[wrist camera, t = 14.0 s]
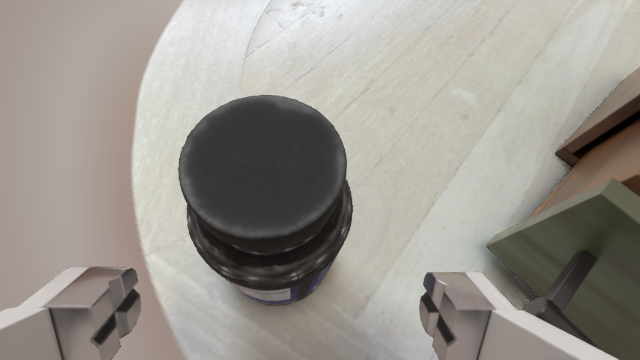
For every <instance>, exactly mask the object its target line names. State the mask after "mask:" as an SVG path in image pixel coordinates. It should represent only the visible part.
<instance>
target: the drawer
mask: <svg viewBox="0 0 640 360" xmlns="http://www.w3.org/2000/svg"><path fill="white" fill-rule="evenodd" d="M486 247H487V248H488V249H489V250H490V251H491V252H492V253H493V254H494V255H495V256H497V257H498V258H499V259H500V260H501V261H502V262H503V263H504V264H505V265H506V266H507V267H508V268H509V269H510V270H511V271H512V272H513V273H514V274H516V275H517V276H518V277H519V278H520V279H521V280H522V281H523V282H524V283H525V284H526V285H527V286H528V287H529V288H530V289H531V290H532V291H533V292H534V293H536V294H537V295H538V296H539V297H540V298H537V299H534V300H532V301H530V302H529V303H528V304H526V305H525V306H524V307H523V308H522V309H521V310H524V311H525V312H527V313H529V314H531V315H533V316H535V317H537V318H539V319H541V320H543V321H545V322H547V323H549V324H551V325H553V326H555V327H557V328H559V329H561V330H562V331H564V332H566V333H568V334H570V335H572V336H574V337H576V338H578V339H580V340H582V341H584V342H586V343H588V344H590V345H592V346H594V347H596V348H598V349H599V350H601V351H603V352H605V353H607V354H609V355H611V356H613V357H615V358H617V359H619V360H640V117H639V118H638V119H636V120H634V121H633V122H631V123H630V124H628V125H626V126H625V127H623V128H622V129H620V130H618V131H617V132H615V133H614V134H612V135H610V136H609V137H607V138H606V139H604V140H602V141H601V142H599V143H597V144H596V145H594V146H593V147H591V148H590V149H589V150H588V151H587V152H586V153H585V154H584V155H583V157H582V158H581V159H580V160H579V161H578V162H577V164H576V165H575V166H574V167H573V168H572V169H571V170H570V172H569V173H568V174H567V175H566V176H565V177H564V179H563V180H562V181H561V182H560V183H559V184H558V185H557V187H556V188H555V189H554V190H553V191H552V192H551V193H550V195H549V196H548V197H547V198H546V199H545V200H544V202H543V203H542V204H541V205H540V206H539V207H538V208H537V210H536V211H535V212H534V213H533V214H532V215H531V216H530V218H529V219H527V220H525V221H523V222H521V223H519V224H517V225H515V226H513V227H511V228H509V229H507V230H505V231H503V232H501V233H499V234H497V235H495V237H494V238H493V239H492V240H491V241H490V242H489V243H488V244H487V245H486Z"/></svg>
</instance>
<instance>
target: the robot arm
mask: <svg viewBox="0 0 640 360" xmlns="http://www.w3.org/2000/svg"><path fill="white" fill-rule="evenodd" d="M137 282H138V279H137V274H136V271H135V270H134V269H133V268H122V267H91V266H74V267H69V268H67V269H66V270H65V271H64V272H62V273H61V274H59V275H58V276H57V277H56V278H54V279H53V280H52V281H50V282H49V283H48V284H47V285H45V286H44V287H43V288H41V289H40V290H39V291H38V292H36V293H35V294H34V295H32V296H31V297H30V298H29V299H27V300H26V301H25V302H23V303H22V304H21V305H20V306H18V307H17V308H8V309H5V310H3V311H0V360H112V359H113V357H114V356H115V354H116V353H117V351H118V350H119V349H120V347H121V346H120V339H121V338H122V337H124V336H126V335H127V334H129V333H130V332H131V331H132V329H133V328H134V327H135V325H136V324H137V321H138V318H139V315H140V312H141V298H140V295H139V294H138V293H137V292H136V291H135V290H134V289H133V288H134V286H135V285H136V284H137ZM423 285H424V287H425V289H426V290H427V292H426V293H425V294H424V295H423V296H422V297H421V299H420V306H419V311H420V319H421V322H422V325H423V328H424V330H425V332H426V333H427V334H429V335H430V336H431V337H433V338H434V340H433V345H432V346H433V348H434V350H435V352H436V354H437V356H438V358H439V360H619V359H617V358H615V357H613V356H611V355H609V354H607V353H605V352H603V351H601V350H599V349H598V348H596V347H594V346H592V345H590V344H588V343H586V342H584V341H582V340H580V339H578V338H576V337H574V336H572V335H570V334H568V333H566V332H564V331H562V330H561V329H559V328H557V327H555V326H553V325H551V324H549V323H547V322H545V321H543V320H541V319H539V318H537V317H535V316H533V315H531V314H529V313H527V312H525V311H524V310H517V309H516V308H515V307H514V306H513V305H512V304H511V303H510V302H509V301H508V300H507V299H506V298H505V297H504V296H503V295H502V294H501V293H500V291H499V290H498V289H497V288H496V287H495V286H494V285H493V284H492V283H491V282H490V281H489V280H488V279H487V278H486V277H485V276H484V275H483V274H482V273H480V272H427V274H426V275H425V278H424V283H423Z"/></svg>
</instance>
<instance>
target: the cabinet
mask: <svg viewBox="0 0 640 360" xmlns="http://www.w3.org/2000/svg"><path fill="white" fill-rule="evenodd" d="M639 117H640V67H639V68H638V69H637V70H635V71H634V72H633V73H632V74H630V75H629V76H627V77H626V78H625V79H624V80H623V81H622V82H621V83H620V84H619V85H618V86H617V87H616V88H615V89H614V90H613V92H612V93H611V94H610V95H609V96H608V97H607V98H606V99H605V100H604V101H603V102H602V103H601V104H600V105H599V106H598V107H597V109H596V110H595V111H594V112H593V113H592V114H591V115H590V116H589V117H588V118H587V119H586V120H585V121H584V122H583V123H582V124H581V126H580V127H579V128H578V129H577V130H576V131H575V132H574V133H573V134H572V135H571V136H570V137H569V138H568V139H567V140H566V141H565V143H564V144H563V145H562V146H561V147H560V148H559V149H558V150H557V151H556V152H555V153H556V154H557V155H558V156H560V157H561V158H562V159H564V160H565V161H566V162H567V163H569V164H570V165H571V166H573V167H574V166H575V165H576V164H577V162H578V161H579V160H580V159H581V158H582V157H583V155H584V154H585V153H586V152H587V151H588V150H589V149H590V148H591V147H593V146H594V145H596V144H597V143H599V142H601V141H602V140H604V139H606V138H607V137H609V136H610V135H612V134H614V133H615V132H617V131H618V130H620V129H622V128H623V127H625V126H626V125H628V124H630V123H631V122H633V121H634V120H636V119H638V118H639Z"/></svg>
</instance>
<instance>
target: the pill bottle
mask: <svg viewBox="0 0 640 360" xmlns="http://www.w3.org/2000/svg"><path fill="white" fill-rule="evenodd" d="M346 169H347V159H346V153H345V148H344V146H343V143H342V141H341V138H340V136H339V134H338V132H337V131H336V129H335V128H334V126H333V125H332V124H331V123H330V122H329V121H328V119H327V118H326V117H324V116H323V115H322V114H321V113H320V112H318V111H317V110H316V109H314V108H312V107H311V106H308V105H306V104H304V103H302V102H299V101H298V100H294V99H291V98H287V97H281V96H273V95H259V96H250V97H245V98H241V99H236V100H233V101H230V102H229V103H227V104H225V105H222V106H220V107H218V108H217V109H215V110H213V111H212V112H210V113H209V114H207V115H206V116H205V117H204V118H203V119H202V120H201V121H200V122H199V123H198V124H197V125H196V126H195V128H194V129H193V130H192V131H191V132H190V134H189V135H188V136H187V140H186V143H185V145H184V146H183V147H182V151H181V154H180V159H179V168H178V170H179V181H180V186H181V190H182V193H183V195H184V198H185V200H186V202H187V221H188V229H189V234H190V237H191V239H192V241H193V243H194V245H195V247H196V248H197V251H198V253H199V254H200V255H201V257H202V258H203V259H204V260H205V262H206V263H207V264H208V265H209V266H210V267H211V268H212V269H213V270H214V271H216V272H217V273H218V274H219V275H221V276H222V277H223V278H225V279H226V280H227V281H229V282H230V283H231V284H232V285H234V286H235V287H236V288H237V289H239V290H240V291H241V292H243V293H244V294H245V295H246V296H248V297H249V298H251V299H253V300H256V301H258V302H260V303H263V304H266V305H286V304H289V303H292V302H295V301H299V300H301V299H303V298H305V297H306V296H308V295H309V294H311V293H312V292H313V291H314V290H315V289H316V288H317V287H318V286H319V285H320V283H321V282H322V280H323V279H324V277H325V276H326V274H327V272H328V270H329V268H330V267H331V265H332V263H333V261H334V260H335V258H336V256H337V254H338V252H339V251H340V249H341V247H342V245H343V244H344V241H345V239H346V237H347V235H348V232H349V230H350V226H351V221H352V212H353V205H352V197H351V191H350V187H349V184H348V181H347V179H346Z"/></svg>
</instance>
